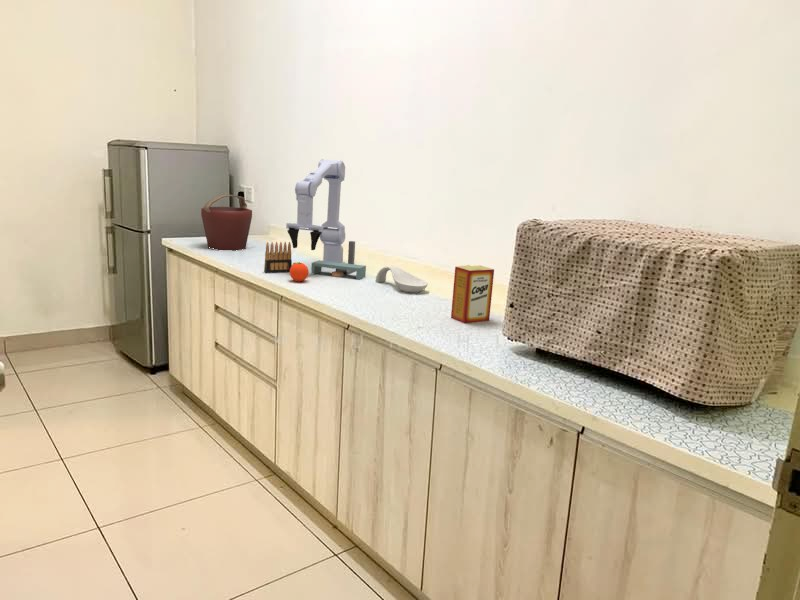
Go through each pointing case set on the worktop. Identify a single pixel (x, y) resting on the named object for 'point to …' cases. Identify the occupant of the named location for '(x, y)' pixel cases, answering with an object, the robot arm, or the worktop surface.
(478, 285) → the baking soda box
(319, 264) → the grey-green bridge-shaped bar
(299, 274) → the tomato
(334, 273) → the orange rounded disc
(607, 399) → the worktop surface
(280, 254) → the ammunition clip
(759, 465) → the worktop surface
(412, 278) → the spoon rest
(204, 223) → the bucket
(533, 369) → the worktop surface
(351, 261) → the scraper
